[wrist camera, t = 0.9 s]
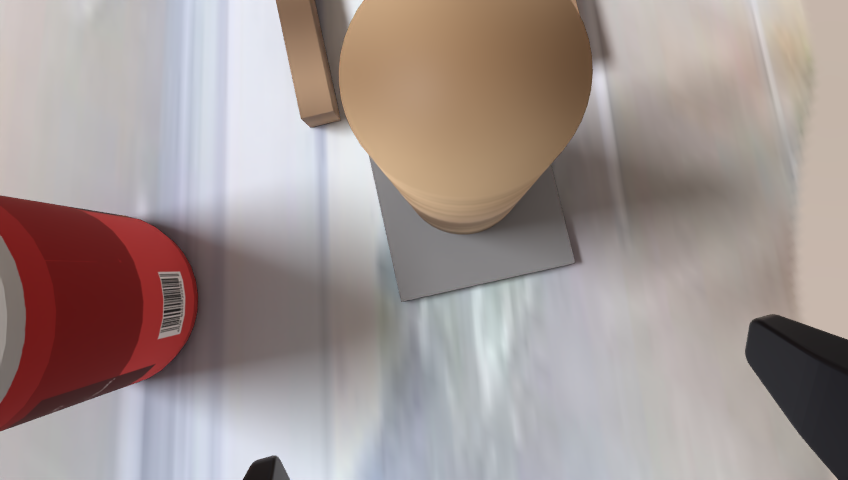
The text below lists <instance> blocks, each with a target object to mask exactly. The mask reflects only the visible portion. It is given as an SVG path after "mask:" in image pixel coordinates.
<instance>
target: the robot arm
mask: <svg viewBox="0 0 848 480" xmlns="http://www.w3.org/2000/svg"><path fill="white" fill-rule="evenodd" d="M745 354H746V358H747V361H748V363H749V365H750V366H751V368H752V369H753V370H754V372H755V373H756V375H757V376H758V377H759V379H760V380H761V382H762V383H763V384H764V386H765V387H766V389H767V390H768V391H769V393H770V394H771V396H772V397H773V398H774V400H775V401H776V403H777V404H778V405H779V407H780V408H781V410H782V411H783V412H784V414H785V415H786V417H787V418H788V420H789V421H790V422H791V424H792V425H793V426H794V428H795V429H796V430H797V432H798V433H799V434H800V435H801V437H802V438H803V439H804V440H805V441H806V443H807V444H808V445H809V446H810V447H811V449H812V450H813V451H814V452H815V453H816V454H817V456H818V457H819V458H820V459H821V460H822V461H823V462H824V464H825V465H826V466H827V467H828V468H829V469H830V471H831V472H832V473H833V474H834V475H835V476H836V478H837V479H838V480H848V340H847V339H844V338H842V337H839V336H836V335H833V334H830V333H827V332H825V331H822V330H819V329H816V328H813V327H810V326H808V325H805V324H802V323H799V322H796V321H794V320H791V319H788V318H785V317H782V316H779V315H775V314H771V315H767V316H763V317H760V318H756V319H754V320H752V322H751V323H750V325H749V331H748V337H747V342H746V348H745ZM243 480H290V479H289V477H288V475H287V473H286V470H285V468H284V466H283V464H282V462H281V460H280V459H279V458H278V457H277V456H270V457H266V458H263V459H259V460H256V461H255V462H253V463H252V465H251V466H250V468H249V470H248V471H247V473H246V475H245V477H244V479H243Z"/></svg>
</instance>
